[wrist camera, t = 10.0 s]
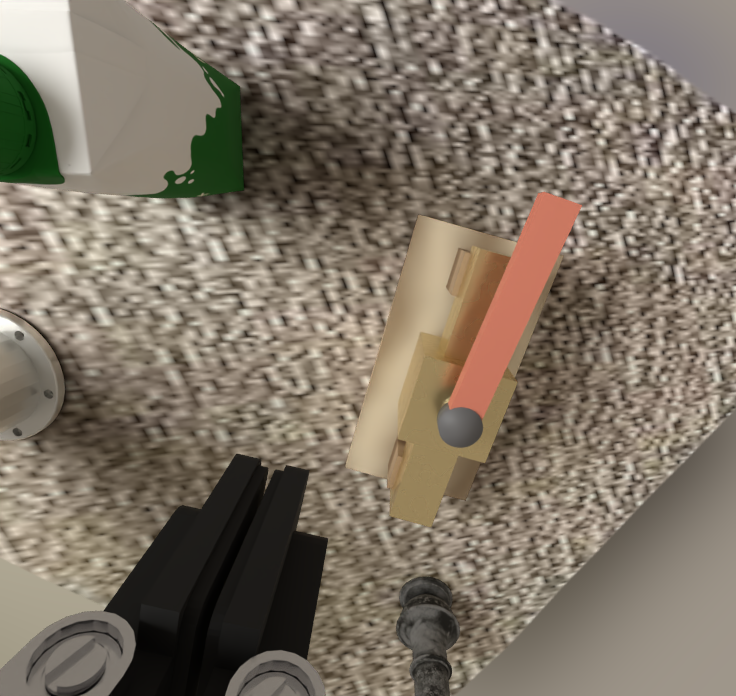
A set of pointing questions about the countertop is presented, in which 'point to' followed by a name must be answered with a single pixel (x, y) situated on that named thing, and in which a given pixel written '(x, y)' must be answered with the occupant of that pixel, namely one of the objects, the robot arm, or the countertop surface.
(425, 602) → the dark grey chess piece
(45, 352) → the robot arm
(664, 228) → the countertop surface
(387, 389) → the board
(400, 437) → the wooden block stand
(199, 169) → the milk carton
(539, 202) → the lever
